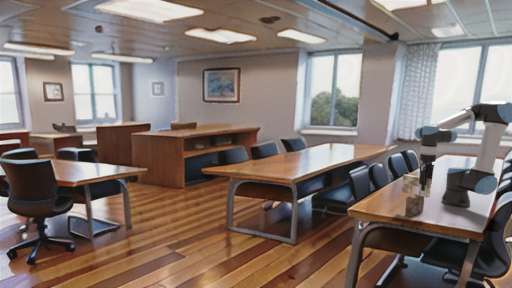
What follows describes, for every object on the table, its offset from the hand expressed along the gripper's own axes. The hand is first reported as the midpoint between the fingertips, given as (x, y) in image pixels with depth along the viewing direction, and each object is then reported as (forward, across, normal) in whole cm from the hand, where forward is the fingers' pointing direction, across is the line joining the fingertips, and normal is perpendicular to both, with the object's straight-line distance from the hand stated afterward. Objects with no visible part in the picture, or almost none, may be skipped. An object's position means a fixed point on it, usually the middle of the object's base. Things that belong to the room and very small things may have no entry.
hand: (424, 195), depth 166 cm
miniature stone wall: (+11, 0, -5) cm, 12 cm away
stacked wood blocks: (0, 0, -5) cm, 5 cm away
